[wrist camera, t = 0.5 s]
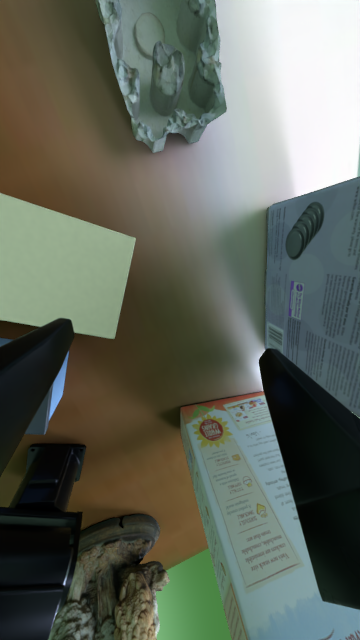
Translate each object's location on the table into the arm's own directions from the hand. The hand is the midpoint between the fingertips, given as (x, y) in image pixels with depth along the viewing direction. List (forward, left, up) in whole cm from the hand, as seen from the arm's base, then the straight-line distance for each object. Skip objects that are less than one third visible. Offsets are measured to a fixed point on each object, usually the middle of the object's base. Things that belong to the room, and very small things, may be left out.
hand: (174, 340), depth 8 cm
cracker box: (-16, -15, -13) cm, 25 cm away
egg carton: (+17, +4, -13) cm, 22 cm away
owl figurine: (-45, -4, -13) cm, 47 cm away
